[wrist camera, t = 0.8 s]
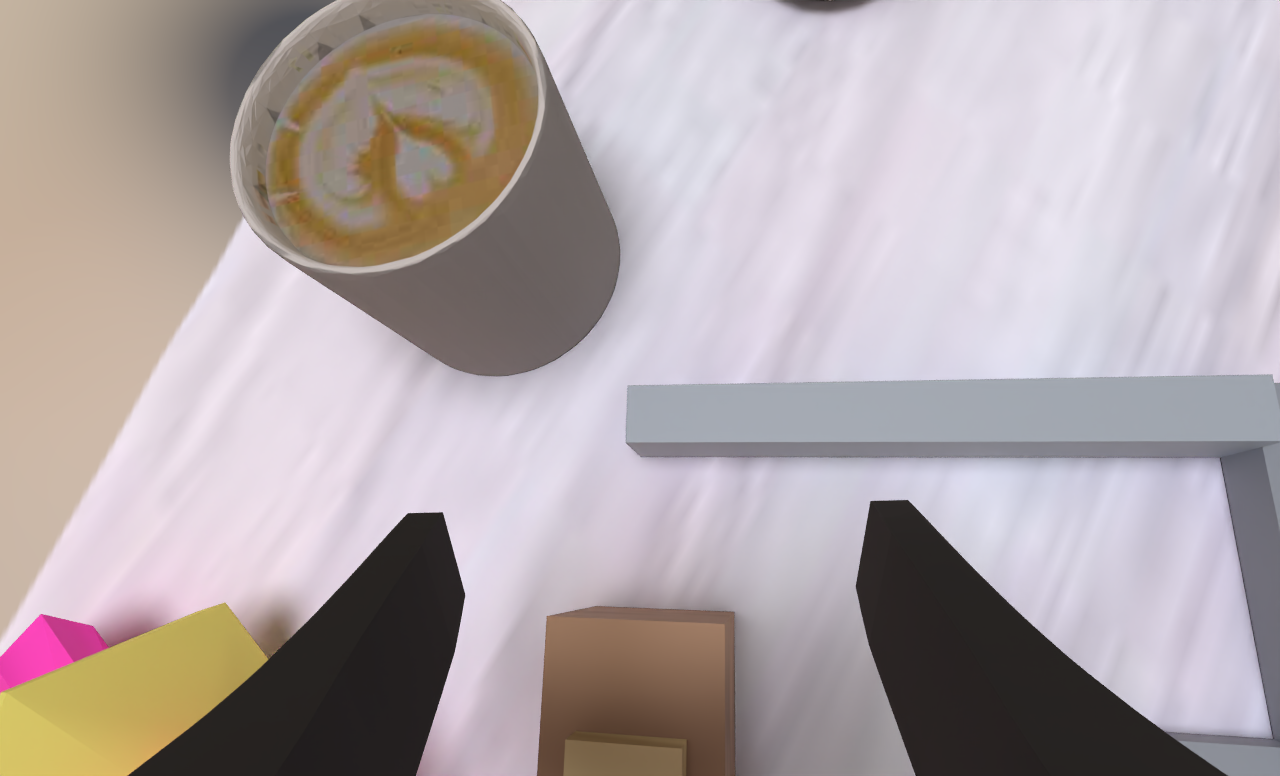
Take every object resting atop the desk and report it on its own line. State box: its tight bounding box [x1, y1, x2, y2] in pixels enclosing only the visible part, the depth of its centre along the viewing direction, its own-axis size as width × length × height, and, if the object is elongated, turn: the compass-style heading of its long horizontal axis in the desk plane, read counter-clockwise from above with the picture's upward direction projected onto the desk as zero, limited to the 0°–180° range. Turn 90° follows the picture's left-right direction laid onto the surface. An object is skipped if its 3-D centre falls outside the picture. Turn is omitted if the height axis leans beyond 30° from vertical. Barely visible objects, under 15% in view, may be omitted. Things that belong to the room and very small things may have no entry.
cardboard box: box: [537, 606, 735, 776], centre depth 20 cm, size 7×5×7 cm
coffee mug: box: [230, 0, 620, 376], centre depth 25 cm, size 13×10×10 cm
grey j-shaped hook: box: [626, 375, 1280, 776], centre depth 22 cm, size 12×21×3 cm, turn 88°
